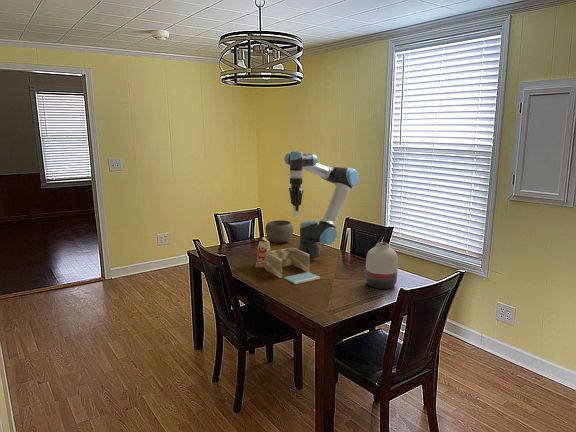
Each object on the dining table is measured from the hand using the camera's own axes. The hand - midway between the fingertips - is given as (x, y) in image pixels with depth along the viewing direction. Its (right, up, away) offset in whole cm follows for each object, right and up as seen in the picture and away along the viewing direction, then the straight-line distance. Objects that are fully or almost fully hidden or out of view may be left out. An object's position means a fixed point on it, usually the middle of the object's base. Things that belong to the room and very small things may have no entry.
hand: (295, 216), depth 259 cm
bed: (-5, -34, -4) cm, 34 cm away
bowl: (-11, -20, +65) cm, 69 cm away
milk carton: (-20, -32, +6) cm, 38 cm away
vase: (+46, -38, -24) cm, 65 cm away
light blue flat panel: (0, -34, -12) cm, 36 cm away
